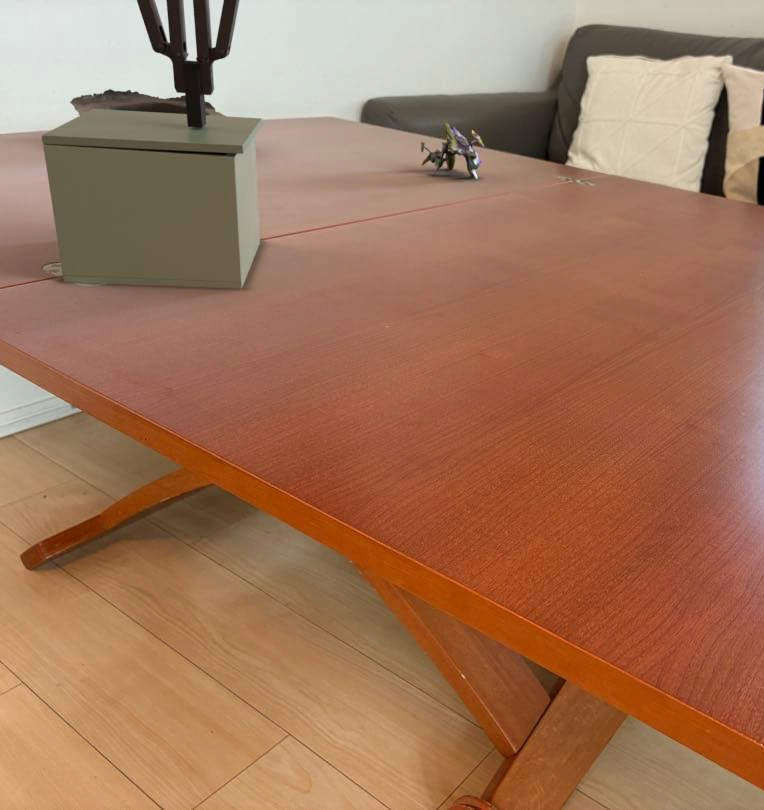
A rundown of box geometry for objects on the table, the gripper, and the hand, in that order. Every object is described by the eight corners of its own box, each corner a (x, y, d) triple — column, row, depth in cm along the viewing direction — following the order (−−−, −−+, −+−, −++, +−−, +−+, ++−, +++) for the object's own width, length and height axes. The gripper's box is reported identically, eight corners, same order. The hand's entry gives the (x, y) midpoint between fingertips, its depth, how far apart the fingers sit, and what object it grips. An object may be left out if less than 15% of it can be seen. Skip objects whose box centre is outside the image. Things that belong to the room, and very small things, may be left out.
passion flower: (470, 208, 161) (494, 164, 152) (415, 196, 157) (437, 150, 147) (465, 164, 167) (488, 119, 157) (412, 151, 162) (432, 104, 153)
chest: (260, 244, 110) (254, 128, 103) (241, 291, 94) (234, 157, 87) (109, 237, 106) (94, 116, 100) (64, 284, 90) (42, 144, 84)
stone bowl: (129, 132, 164) (128, 81, 160) (253, 158, 163) (255, 109, 159) (45, 150, 142) (41, 92, 138) (187, 181, 141) (188, 124, 137)
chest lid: (262, 125, 103) (262, 118, 103) (243, 153, 87) (242, 145, 87) (94, 116, 100) (93, 108, 99) (42, 144, 84) (41, 135, 83)
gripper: (96, -138, 79) (125, 126, 89) (243, -118, 81) (254, 135, 92) (117, -130, 85) (141, 115, 96) (253, -112, 88) (262, 124, 98)
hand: (197, 125), depth 94 cm, fingers closed
